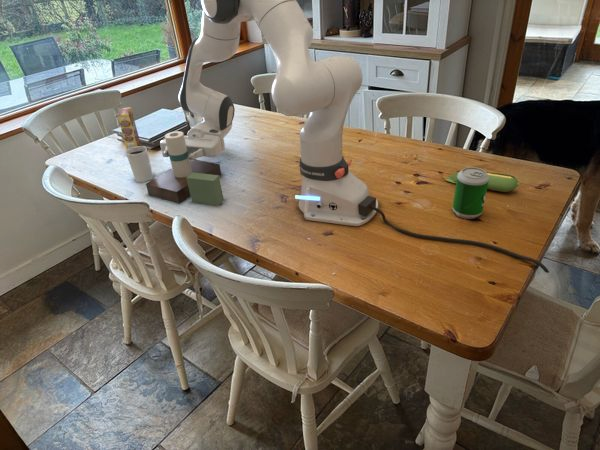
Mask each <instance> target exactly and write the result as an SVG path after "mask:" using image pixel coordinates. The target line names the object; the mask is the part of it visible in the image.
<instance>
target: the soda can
mask: <svg viewBox="0 0 600 450" xmlns="http://www.w3.org/2000/svg"><path fill="white" fill-rule="evenodd" d="M459 171H460V172H459V173H458V175H457V181H456V183H455V187H454V195H453V202H452V208H451V209H452V211H453V213H455V215H456V216H457V217H458V218H461V219H465V220H474V219H476V218H478V217H480V216H481V215H483V212H484V207H485V202H486V196H487V191H488V189H487V187H488V182H489V176H488V174H487V173H486V172H487V171H486V170H484V169H482V168H479V167H473V166H471V167H469V166H468V167H465V168H463V169H461V170H459Z"/></svg>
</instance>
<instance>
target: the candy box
mask: <svg viewBox="0 0 600 450" xmlns="http://www.w3.org/2000/svg"><path fill="white" fill-rule="evenodd" d="M132 109H133V108H132V107H131V106H127V107H122V108H119V112H118V113H117V119H118V122H119V123H118V124H119V126H120V129H121V133H122V137H123V141H124V145H125V149H126V150H128V149H130V148H133V147H138V146H141V145H142V144H141V140H140V136H139V132H138V129H137V124H136V121H135V117H134V114H133V110H132Z"/></svg>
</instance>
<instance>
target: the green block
mask: <svg viewBox="0 0 600 450" xmlns="http://www.w3.org/2000/svg"><path fill="white" fill-rule="evenodd" d="M186 179H187V183H188V188H189V192H190V200H191V203H193V204H202V205H208V206H216V207H219V206H220V205H221V204H222V203H223V202H224V200H225V199H224V194H223V193H224V192H223V188H222V184H221V176H220V177H219V175H211V174H203V173H194V172H192V173H191V174H190V175H189V176H188V177H186Z"/></svg>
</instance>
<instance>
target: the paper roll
mask: <svg viewBox="0 0 600 450" xmlns="http://www.w3.org/2000/svg"><path fill="white" fill-rule="evenodd" d="M184 136H185V133H184V132H183V131H181V130H180V131H179V130H176V131H170V132H167V133H166V134H164V139H165V141H166V145H167V148H168V152H169V157H168V158H169V160H170V164H171V169H172V168H173V172H174V176H175V177H178V178H182V177H187V176H189V175H190V174H191V173H192V169H191V165H190V160H189V157H188V151H187V147H186V142H185V138H184Z"/></svg>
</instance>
